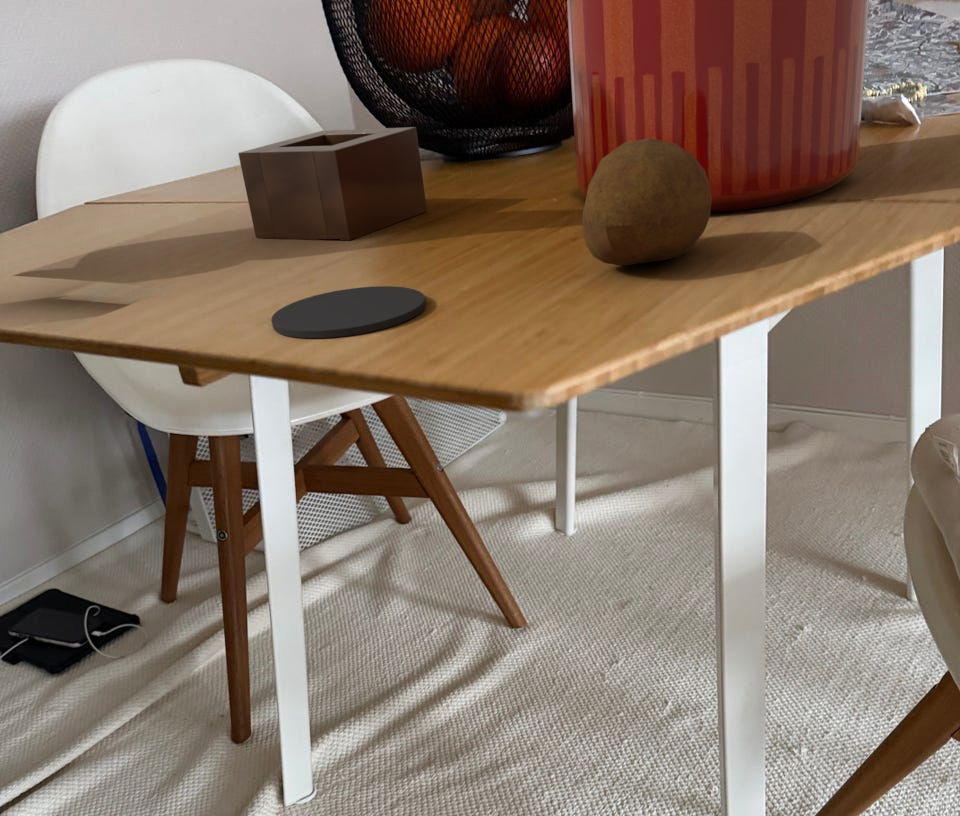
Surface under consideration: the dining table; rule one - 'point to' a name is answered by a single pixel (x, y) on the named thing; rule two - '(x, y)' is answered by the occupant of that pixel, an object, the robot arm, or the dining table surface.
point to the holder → (334, 183)
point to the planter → (723, 89)
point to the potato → (645, 203)
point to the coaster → (348, 312)
